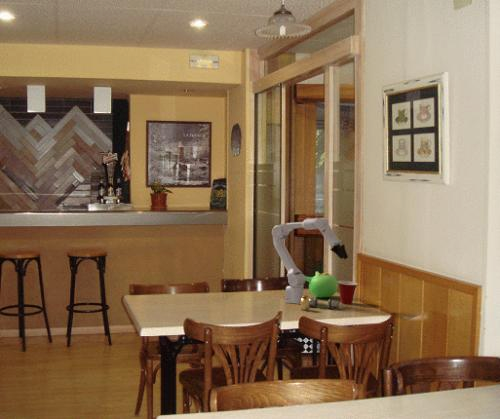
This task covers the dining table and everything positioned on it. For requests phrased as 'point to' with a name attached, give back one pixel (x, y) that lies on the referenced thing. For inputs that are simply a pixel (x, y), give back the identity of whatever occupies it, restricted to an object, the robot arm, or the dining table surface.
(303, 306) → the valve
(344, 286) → the plastic cup
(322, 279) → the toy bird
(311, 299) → the grey metal fittings
